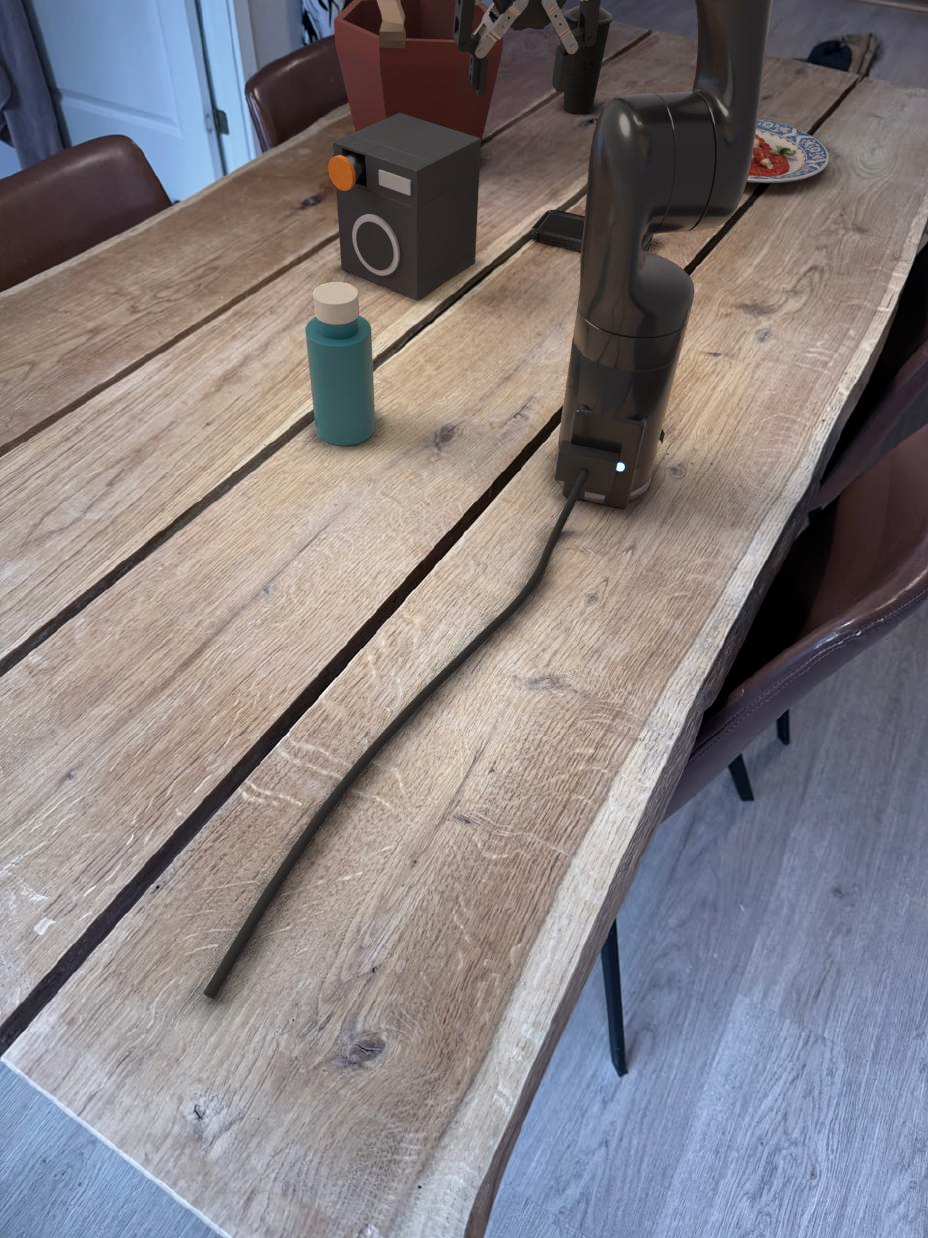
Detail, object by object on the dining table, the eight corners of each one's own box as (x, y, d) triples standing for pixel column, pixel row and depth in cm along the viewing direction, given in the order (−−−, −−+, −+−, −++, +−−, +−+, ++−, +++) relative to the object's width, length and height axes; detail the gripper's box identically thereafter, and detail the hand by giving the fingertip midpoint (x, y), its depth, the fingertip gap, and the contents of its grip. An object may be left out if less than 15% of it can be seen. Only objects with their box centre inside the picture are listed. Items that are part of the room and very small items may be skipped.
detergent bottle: (363, 450, 89) (355, 314, 78) (306, 438, 89) (290, 302, 79) (383, 416, 92) (378, 282, 82) (328, 405, 93) (316, 271, 83)
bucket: (421, 207, 125) (421, -6, 107) (305, 163, 134) (286, -42, 115) (522, 154, 139) (537, -43, 120) (410, 117, 147) (408, -73, 128)
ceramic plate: (653, 184, 133) (657, 163, 131) (659, 121, 150) (662, 101, 148) (831, 204, 131) (838, 183, 128) (817, 137, 148) (823, 117, 146)
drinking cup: (546, 103, 154) (560, -39, 139) (585, 98, 156) (603, -43, 141) (569, 119, 149) (585, -26, 134) (608, 113, 152) (629, -30, 137)
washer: (414, 302, 108) (413, 172, 97) (338, 270, 112) (329, 142, 101) (475, 263, 115) (481, 138, 104) (401, 235, 119) (399, 112, 108)
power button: (353, 194, 101) (351, 161, 99) (329, 185, 103) (326, 152, 100) (375, 183, 103) (374, 150, 101) (351, 175, 105) (349, 142, 102)
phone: (549, 207, 124) (655, 231, 120) (548, 216, 125) (653, 239, 121) (528, 231, 119) (638, 256, 115) (527, 239, 120) (636, 264, 116)
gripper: (472, -83, 77) (461, 112, 91) (628, -86, 80) (594, 104, 93) (452, -115, 82) (444, 76, 95) (601, -117, 84) (573, 69, 97)
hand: (519, 90), depth 94 cm, fingers open, 8 cm apart
